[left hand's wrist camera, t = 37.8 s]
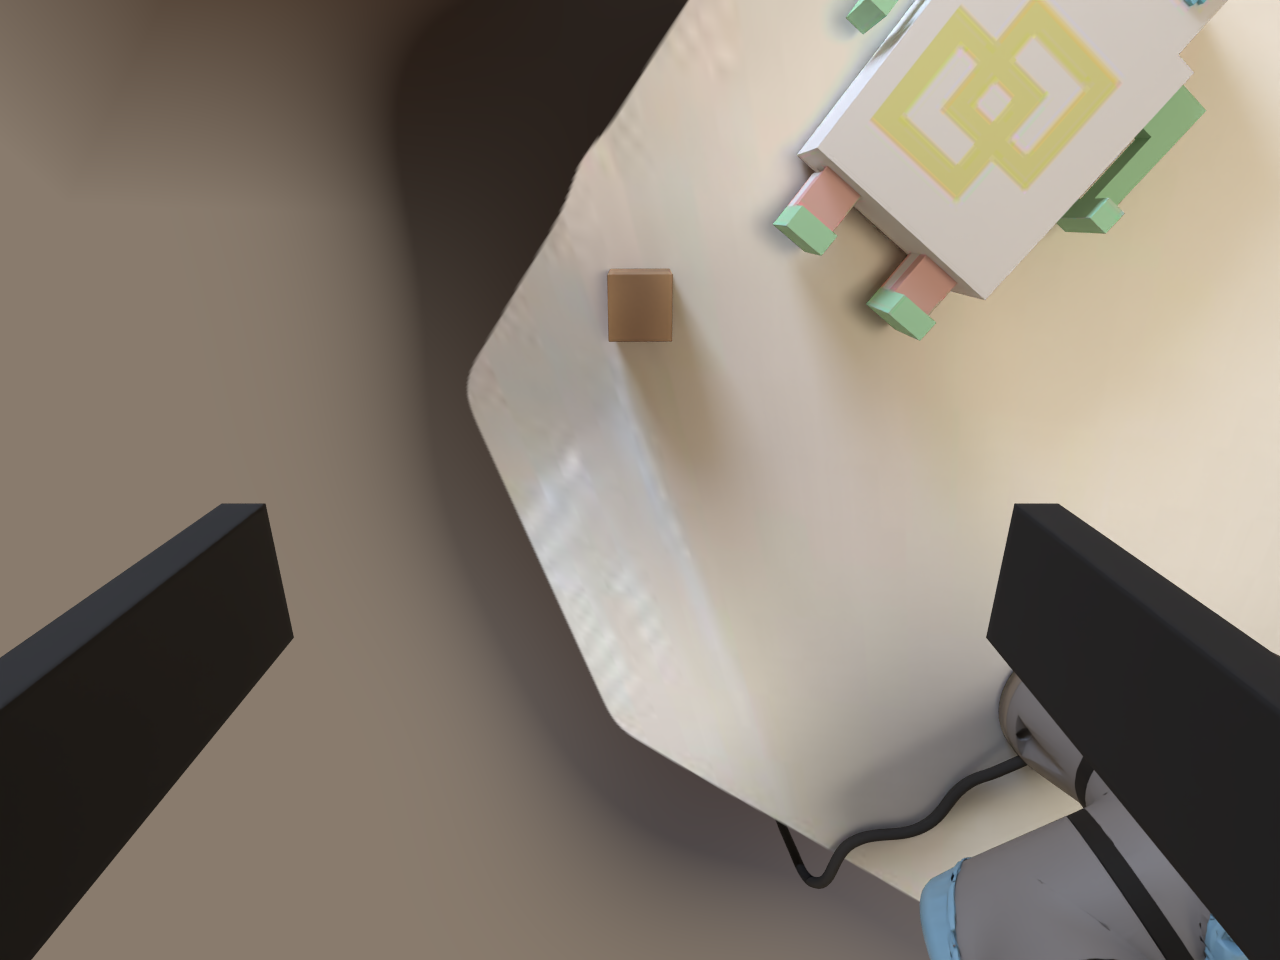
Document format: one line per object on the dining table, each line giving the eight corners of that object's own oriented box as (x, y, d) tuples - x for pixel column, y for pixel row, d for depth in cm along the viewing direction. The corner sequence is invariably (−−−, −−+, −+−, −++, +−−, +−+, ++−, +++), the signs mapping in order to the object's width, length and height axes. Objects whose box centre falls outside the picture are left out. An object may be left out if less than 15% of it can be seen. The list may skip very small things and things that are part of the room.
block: (669, 268, 49) (672, 274, 44) (669, 330, 50) (672, 341, 46) (610, 268, 49) (607, 274, 44) (611, 330, 50) (608, 341, 46)
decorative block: (1082, -290, 33) (1325, 10, 37) (1014, -213, 39) (1230, 38, 43) (733, 178, 40) (971, 383, 45) (721, 182, 46) (931, 362, 51)
